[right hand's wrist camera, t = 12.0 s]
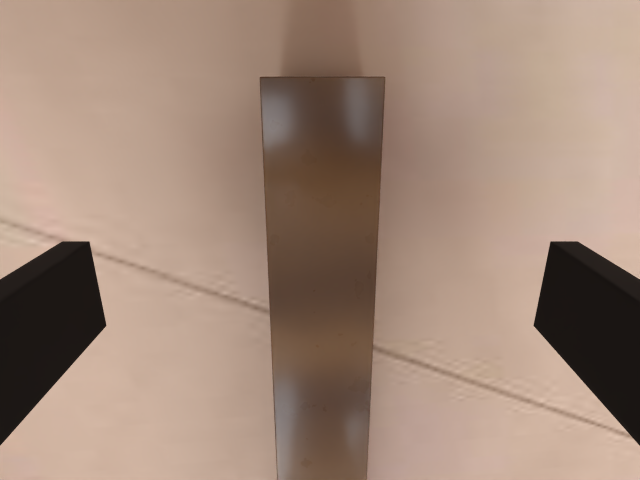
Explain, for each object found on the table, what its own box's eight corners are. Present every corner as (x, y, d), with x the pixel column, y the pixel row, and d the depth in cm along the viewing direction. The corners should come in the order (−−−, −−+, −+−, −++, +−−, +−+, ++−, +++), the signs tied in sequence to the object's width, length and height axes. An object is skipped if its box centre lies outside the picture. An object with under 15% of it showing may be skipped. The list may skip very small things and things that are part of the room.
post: (278, 82, 24) (259, 76, 17) (365, 82, 24) (385, 76, 17) (295, 643, 41) (289, 766, 33) (347, 643, 41) (353, 766, 33)
